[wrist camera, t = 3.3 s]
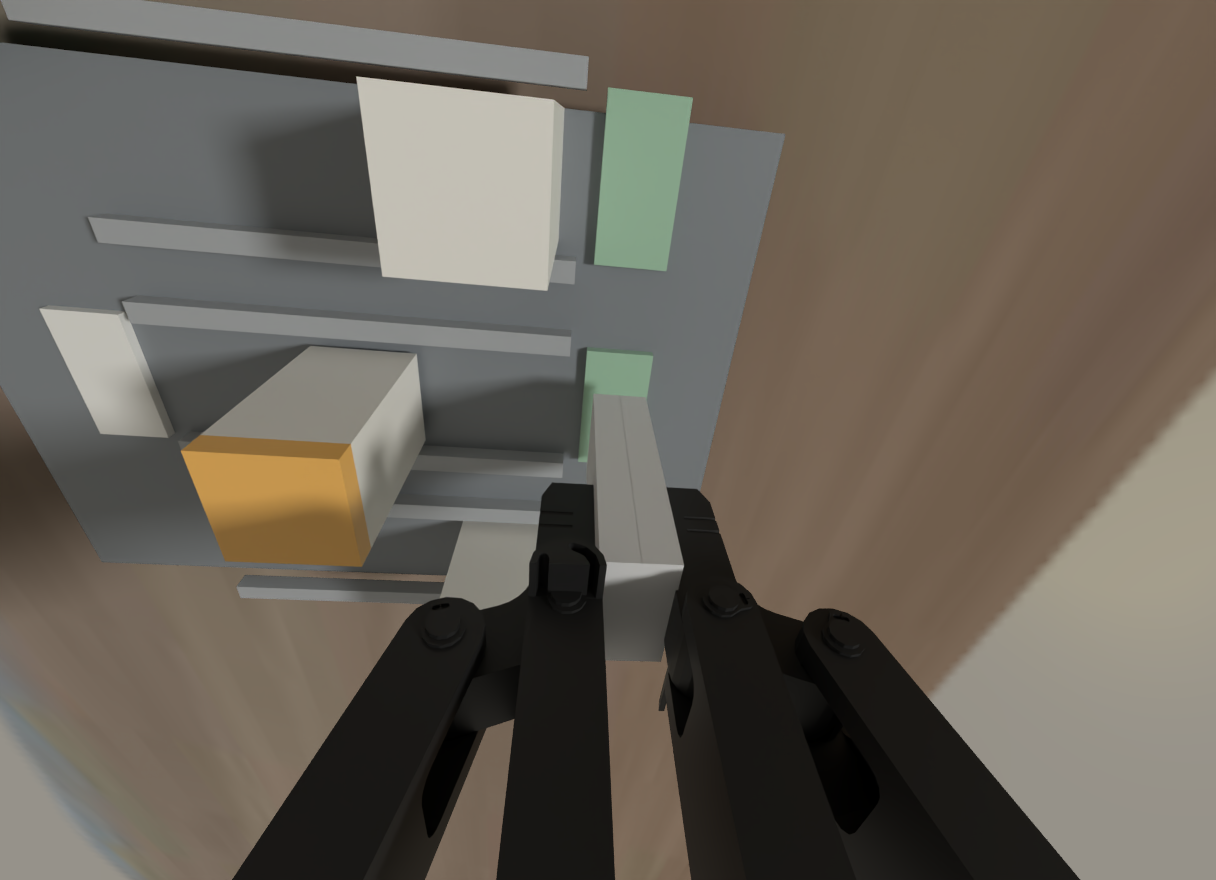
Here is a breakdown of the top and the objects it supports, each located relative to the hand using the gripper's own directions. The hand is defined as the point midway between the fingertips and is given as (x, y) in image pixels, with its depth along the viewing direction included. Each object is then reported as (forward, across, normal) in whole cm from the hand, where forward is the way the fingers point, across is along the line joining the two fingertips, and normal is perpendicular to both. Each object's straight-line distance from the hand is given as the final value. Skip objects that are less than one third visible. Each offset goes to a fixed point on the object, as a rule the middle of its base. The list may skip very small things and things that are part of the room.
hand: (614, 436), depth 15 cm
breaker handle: (+2, -7, 0) cm, 8 cm away
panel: (+4, -8, 0) cm, 8 cm away
